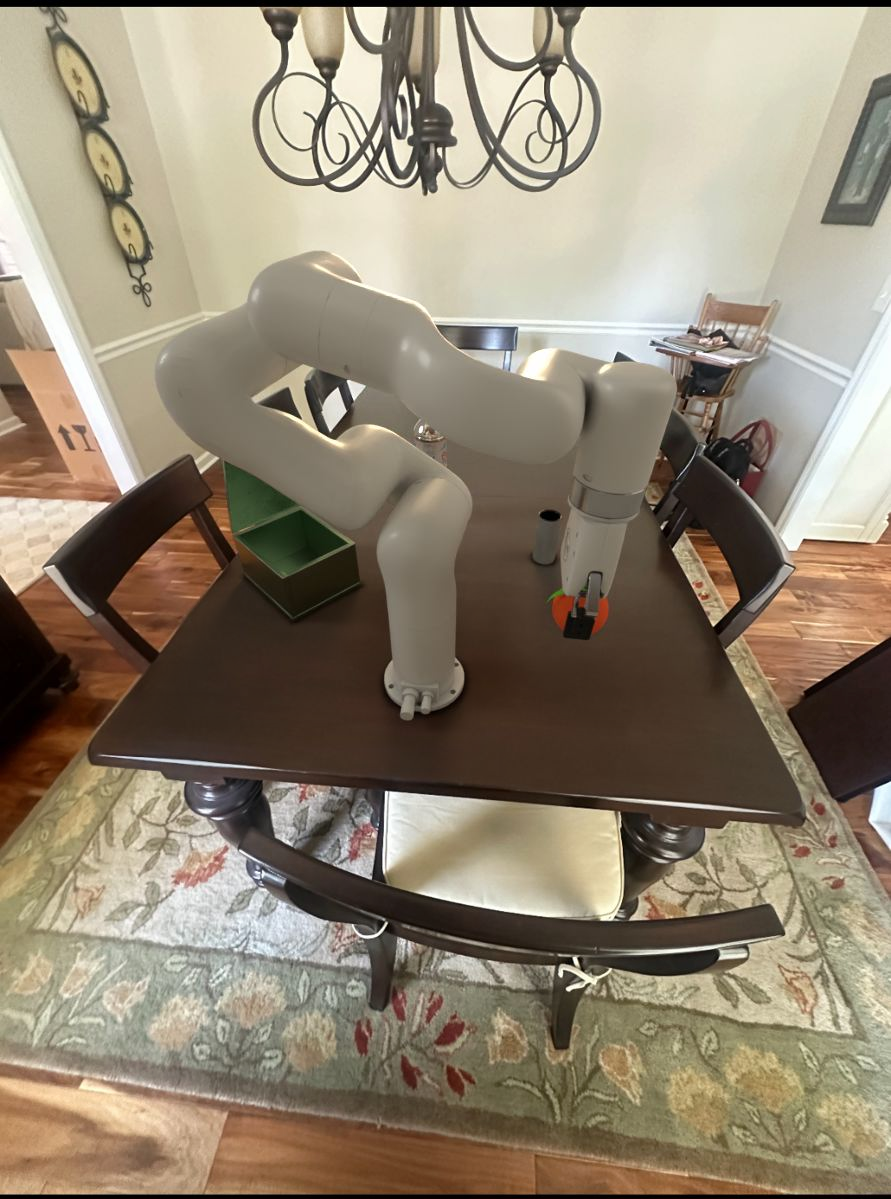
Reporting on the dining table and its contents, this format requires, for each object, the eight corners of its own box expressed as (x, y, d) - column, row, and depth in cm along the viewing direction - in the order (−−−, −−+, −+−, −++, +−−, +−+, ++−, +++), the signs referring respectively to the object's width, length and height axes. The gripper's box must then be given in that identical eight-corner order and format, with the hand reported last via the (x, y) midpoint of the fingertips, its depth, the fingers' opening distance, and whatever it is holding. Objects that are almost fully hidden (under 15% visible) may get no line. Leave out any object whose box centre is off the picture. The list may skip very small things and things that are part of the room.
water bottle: (437, 528, 115) (436, 417, 98) (410, 520, 117) (406, 410, 101) (451, 514, 119) (453, 405, 103) (426, 506, 122) (424, 399, 105)
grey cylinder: (551, 567, 104) (558, 523, 97) (529, 561, 106) (535, 518, 99) (557, 554, 107) (564, 512, 100) (536, 549, 109) (542, 507, 102)
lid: (306, 431, 87) (289, 412, 88) (223, 458, 79) (206, 437, 80) (302, 505, 102) (287, 487, 103) (232, 534, 94) (217, 514, 96)
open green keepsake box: (360, 585, 99) (355, 543, 93) (293, 622, 92) (282, 578, 85) (309, 546, 109) (301, 505, 102) (245, 576, 101) (231, 534, 95)
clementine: (545, 648, 64) (555, 606, 59) (535, 610, 69) (543, 569, 65) (608, 647, 65) (623, 605, 60) (593, 609, 70) (605, 568, 65)
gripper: (566, 452, 61) (543, 571, 72) (574, 535, 48) (545, 663, 59) (631, 458, 60) (597, 576, 72) (657, 543, 47) (611, 671, 59)
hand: (574, 615), depth 66 cm, fingers closed on clementine, 7 cm apart
